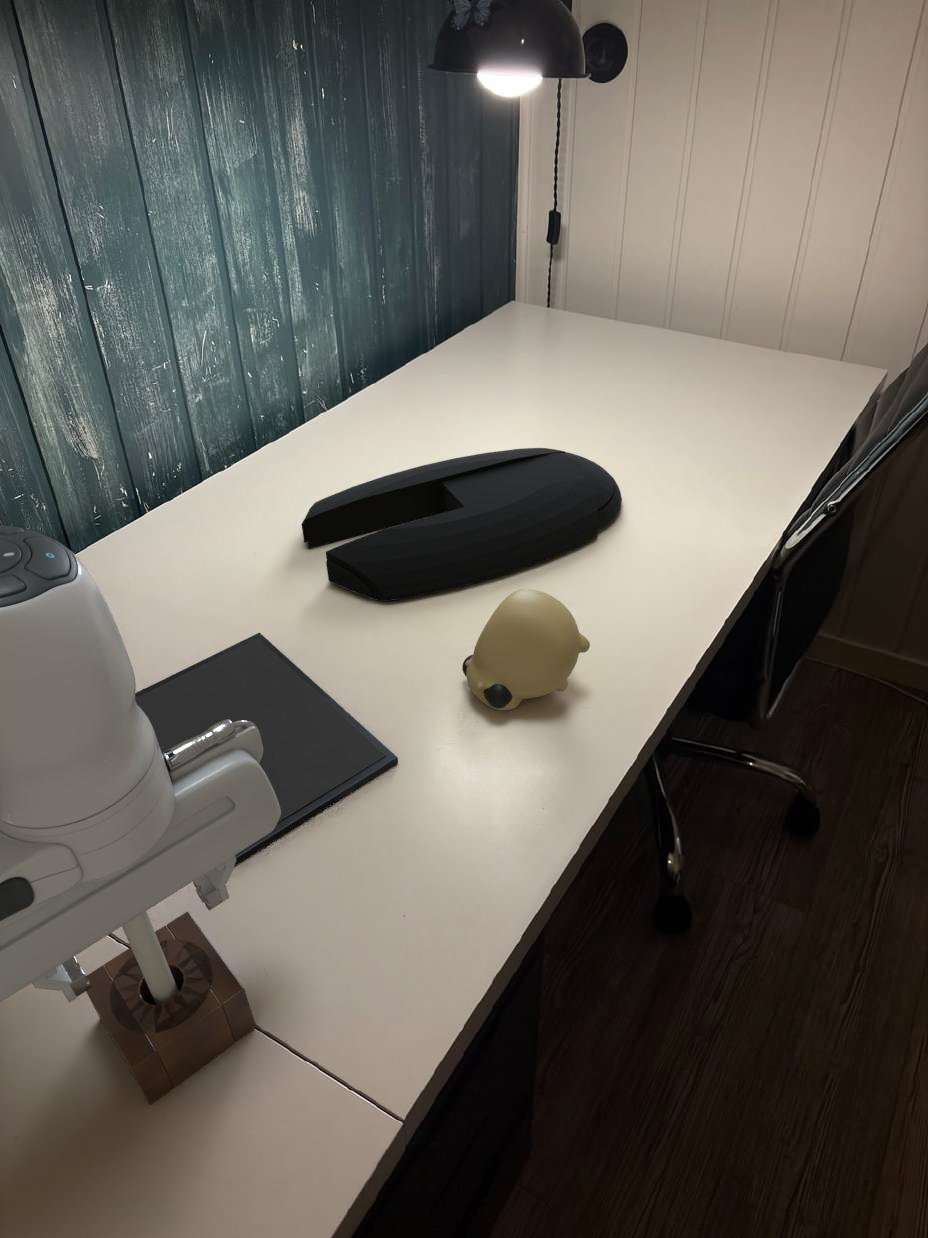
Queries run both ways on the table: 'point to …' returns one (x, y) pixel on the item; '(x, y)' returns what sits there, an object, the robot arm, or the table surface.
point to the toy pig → (524, 650)
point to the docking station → (461, 520)
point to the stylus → (151, 958)
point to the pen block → (171, 1009)
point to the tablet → (271, 727)
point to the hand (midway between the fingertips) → (147, 941)
